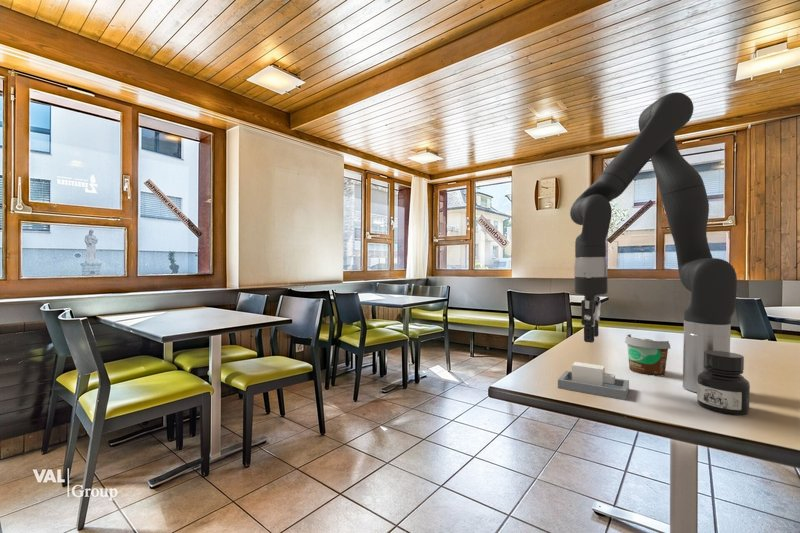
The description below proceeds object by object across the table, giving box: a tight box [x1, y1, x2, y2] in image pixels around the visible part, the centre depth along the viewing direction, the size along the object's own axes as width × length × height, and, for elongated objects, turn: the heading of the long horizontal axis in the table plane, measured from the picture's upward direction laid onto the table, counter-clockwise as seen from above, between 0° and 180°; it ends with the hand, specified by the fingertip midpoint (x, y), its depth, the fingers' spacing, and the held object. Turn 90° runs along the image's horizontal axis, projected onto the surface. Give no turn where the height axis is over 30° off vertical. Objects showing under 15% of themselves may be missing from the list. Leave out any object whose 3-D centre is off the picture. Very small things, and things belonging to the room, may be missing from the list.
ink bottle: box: [696, 351, 751, 416], centre depth 86 cm, size 10×9×12 cm
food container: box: [624, 333, 672, 377], centre depth 114 cm, size 12×6×10 cm, turn 25°
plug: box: [571, 361, 616, 386], centre depth 98 cm, size 4×9×5 cm, turn 55°
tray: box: [557, 370, 630, 401], centre depth 98 cm, size 15×10×2 cm, turn 56°
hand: (591, 339), depth 99 cm, fingers open, 8 cm apart
